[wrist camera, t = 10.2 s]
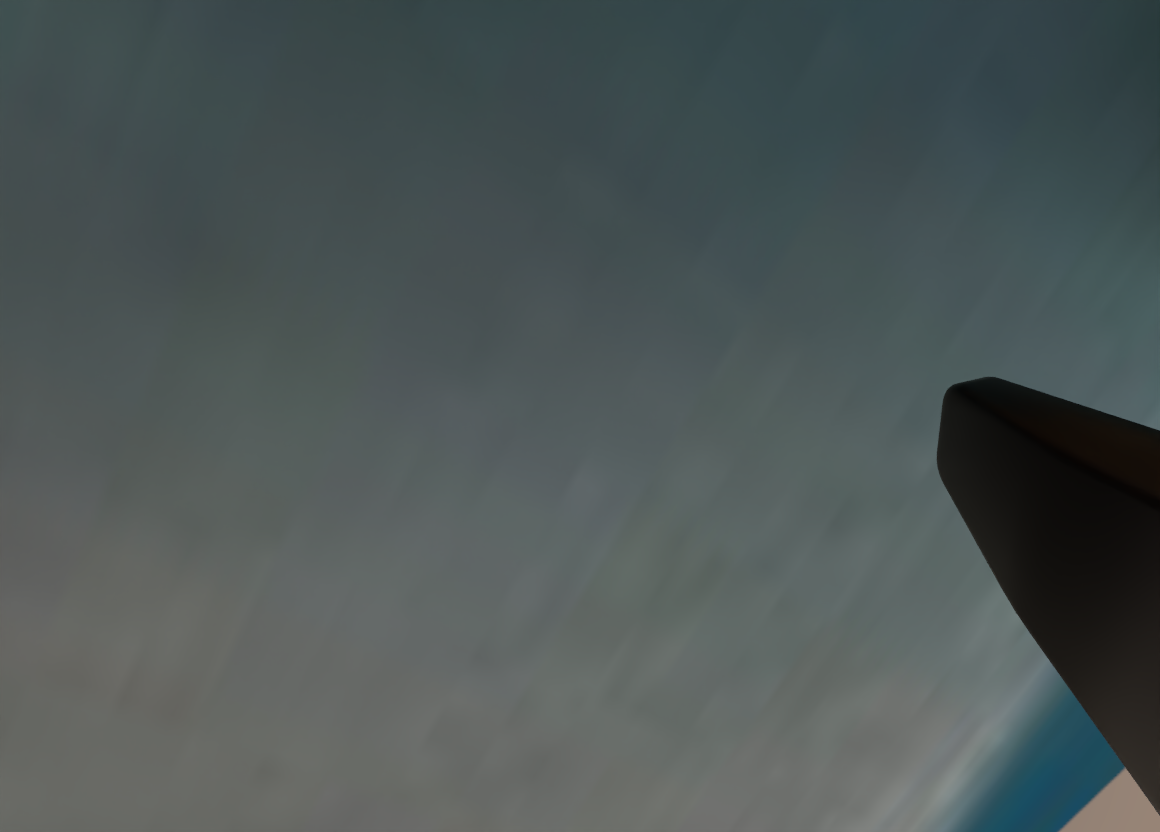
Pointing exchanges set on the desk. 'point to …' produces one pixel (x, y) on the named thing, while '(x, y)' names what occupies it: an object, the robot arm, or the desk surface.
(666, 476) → the desk surface
